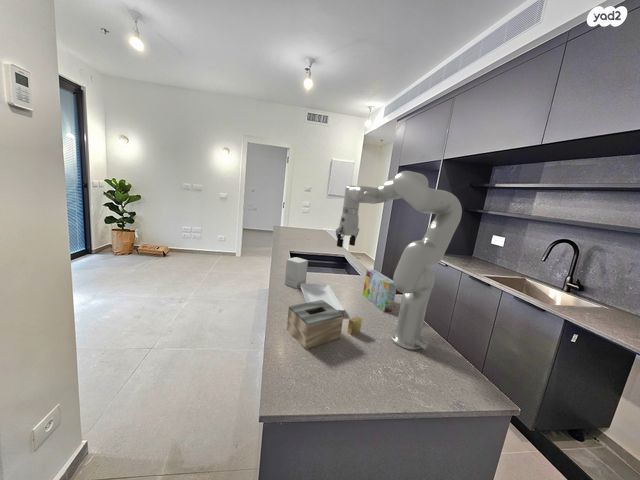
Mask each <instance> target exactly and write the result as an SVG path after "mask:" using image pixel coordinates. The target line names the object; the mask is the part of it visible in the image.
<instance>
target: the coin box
mask: <svg viewBox="0 0 640 480" xmlns="http://www.w3.org/2000/svg"><path fill="white" fill-rule="evenodd" d="M343 321H344V314H343V312H339V311H338V310H336V309H335V308H333V307H332V306H330V305H329V304H328V303H326V302H325V301H323V300H319V301H313V302H308V303H307V302H304V303H299V304H293V305H289V306H288V312H287V321H286V322H287V324H286V331H288V333H289V334H290V335H291V336H292V337H293V338H294V339H295V340H296V341H297V342H298V343H299V345H301V346H302V347H303V348H304V350H308V349H310V347H311V348H314V347H317V345H318V346H321V345H323V344H327V343H329V342H333V341H336V340H340V339H341V335H342V328H343ZM320 344H321V345H320ZM313 346H314V347H313ZM307 348H308V349H307Z"/></svg>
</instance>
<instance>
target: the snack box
mask: <svg viewBox="0 0 640 480" xmlns="http://www.w3.org/2000/svg"><path fill="white" fill-rule="evenodd" d="M365 272H366V273H365V280H364V285H363V291H362V296H364V297H365V298H367V299H368V300H369V301H370V302H372V304H374V306H376V307H378V308H379V309H380V310H381V311H383V312H385V313H386V312H393V309H394V304H395V299H396V295H397V294H396V293H397V289H396V288H395V286H394V283H393V279H391V278H389V276H386V275H384V274H383V273H381V272H379V271H378V270H376V269H366V271H365Z"/></svg>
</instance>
